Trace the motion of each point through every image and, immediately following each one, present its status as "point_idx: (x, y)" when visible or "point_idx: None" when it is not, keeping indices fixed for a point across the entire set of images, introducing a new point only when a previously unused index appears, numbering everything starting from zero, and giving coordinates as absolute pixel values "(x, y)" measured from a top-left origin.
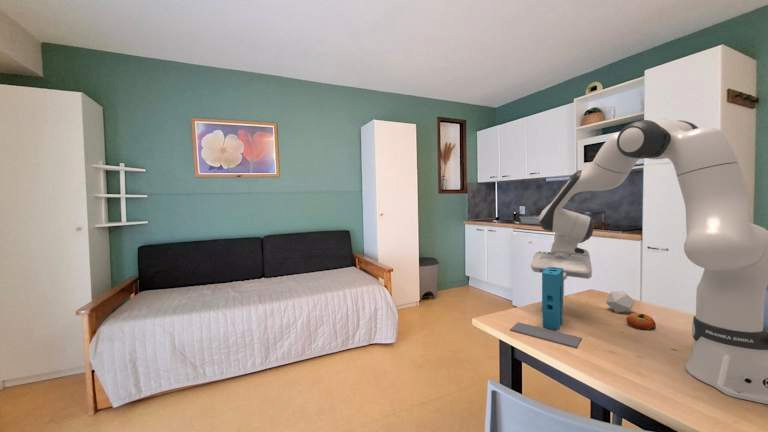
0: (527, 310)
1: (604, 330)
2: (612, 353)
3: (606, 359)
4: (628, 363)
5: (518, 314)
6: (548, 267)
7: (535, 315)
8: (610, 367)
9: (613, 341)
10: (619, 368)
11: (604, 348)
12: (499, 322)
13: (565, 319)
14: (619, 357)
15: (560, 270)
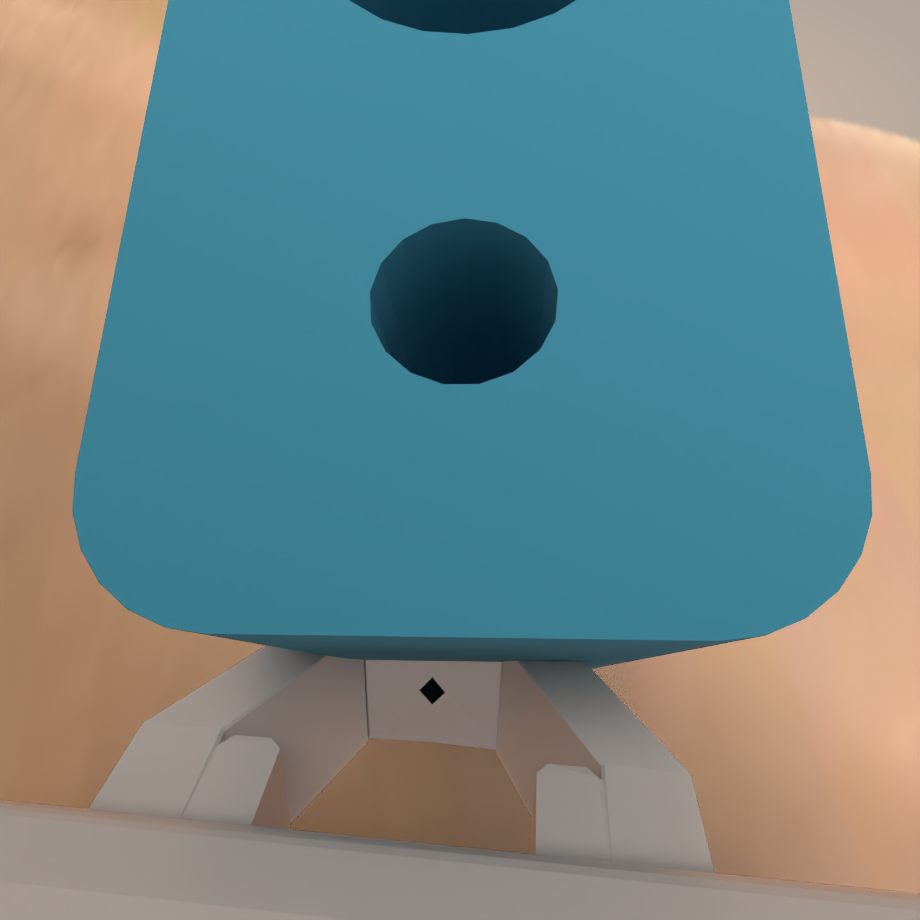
0: (849, 822)
1: (61, 641)
2: (79, 220)
3: (125, 125)
4: (17, 145)
5: (872, 603)
6: (805, 361)
7: (708, 685)
8: (119, 51)
9: (34, 424)
10: (76, 66)
11: (115, 265)
12: (912, 283)
13: (402, 750)
14: (49, 190)
15: (200, 40)
